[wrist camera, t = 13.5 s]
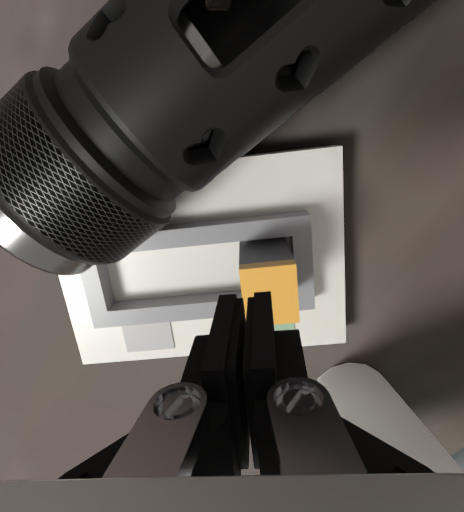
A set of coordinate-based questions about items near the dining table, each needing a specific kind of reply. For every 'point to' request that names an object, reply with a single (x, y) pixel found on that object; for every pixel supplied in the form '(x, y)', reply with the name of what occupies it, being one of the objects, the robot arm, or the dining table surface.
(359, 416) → the foam cup
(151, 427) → the robot arm
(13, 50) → the dining table surface
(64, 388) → the dining table surface
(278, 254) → the breaker lever
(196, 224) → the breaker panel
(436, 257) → the dining table surface
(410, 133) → the dining table surface
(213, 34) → the muzzle brake
